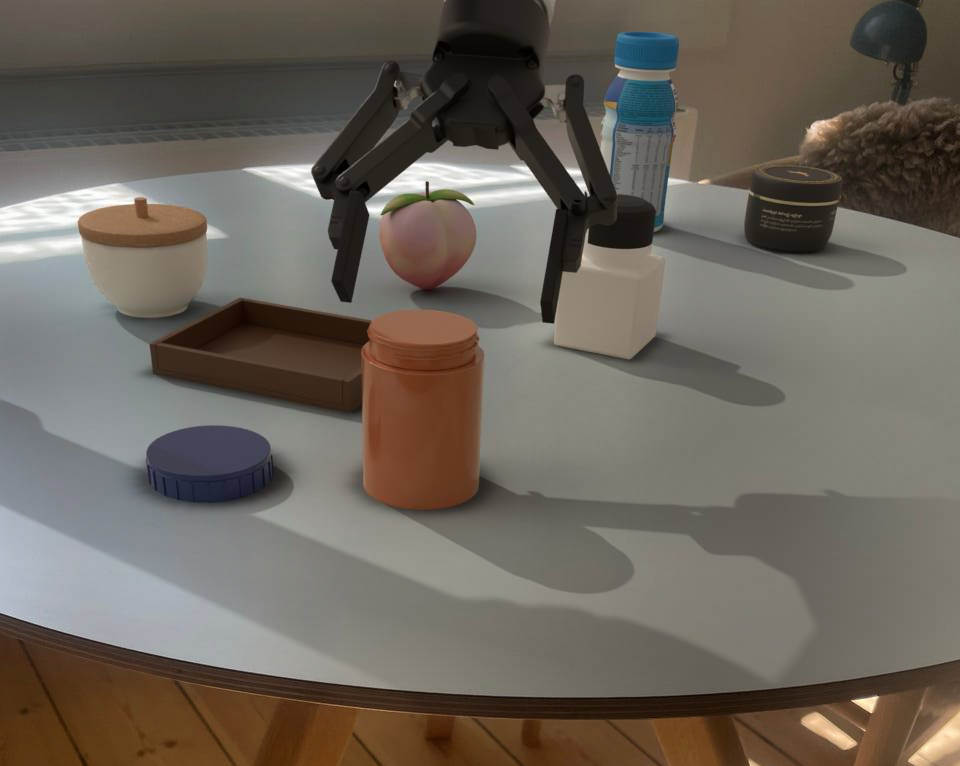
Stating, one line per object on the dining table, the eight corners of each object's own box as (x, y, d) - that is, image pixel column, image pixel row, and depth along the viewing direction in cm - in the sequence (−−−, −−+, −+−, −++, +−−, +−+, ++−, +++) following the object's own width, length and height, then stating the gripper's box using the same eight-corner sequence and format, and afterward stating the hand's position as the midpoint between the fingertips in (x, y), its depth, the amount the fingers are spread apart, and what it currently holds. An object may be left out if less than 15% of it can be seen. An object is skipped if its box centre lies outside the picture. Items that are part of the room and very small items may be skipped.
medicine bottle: (656, 337, 103) (675, 196, 96) (630, 361, 97) (648, 213, 91) (581, 323, 105) (594, 184, 98) (552, 346, 100) (563, 201, 93)
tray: (152, 374, 90) (148, 343, 89) (241, 325, 101) (239, 297, 99) (350, 414, 85) (349, 381, 84) (422, 358, 96) (423, 329, 94)
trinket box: (153, 335, 98) (139, 220, 92) (64, 310, 102) (46, 199, 97) (238, 305, 105) (230, 197, 100) (152, 282, 110) (140, 178, 105)
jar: (753, 228, 137) (764, 159, 133) (838, 241, 134) (852, 171, 129) (730, 247, 130) (741, 175, 125) (819, 261, 126) (834, 187, 122)
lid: (292, 487, 75) (291, 461, 74) (173, 514, 71) (170, 486, 70) (245, 442, 80) (243, 416, 79) (132, 464, 77) (128, 438, 76)
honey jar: (343, 496, 74) (339, 334, 68) (392, 452, 80) (392, 299, 74) (452, 520, 72) (458, 355, 66) (495, 472, 78) (503, 318, 72)
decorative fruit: (439, 272, 117) (441, 167, 111) (487, 293, 111) (493, 184, 106) (359, 285, 112) (357, 176, 106) (406, 308, 107) (407, 195, 101)
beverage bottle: (630, 240, 130) (652, 41, 119) (576, 224, 135) (592, 31, 124) (678, 229, 135) (704, 37, 124) (624, 214, 140) (644, 28, 129)
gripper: (677, 68, 81) (635, 349, 76) (333, 44, 84) (274, 311, 80) (684, -13, 73) (637, 292, 69) (306, -36, 77) (241, 253, 73)
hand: (442, 303), depth 75 cm, fingers open, 13 cm apart
